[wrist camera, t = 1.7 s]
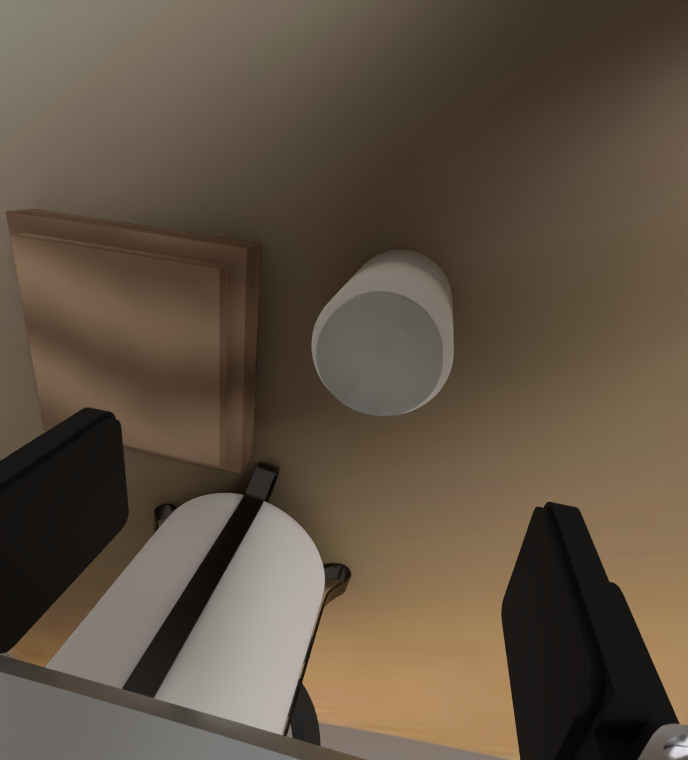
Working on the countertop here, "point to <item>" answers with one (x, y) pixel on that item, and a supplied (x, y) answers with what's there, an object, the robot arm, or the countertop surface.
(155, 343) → the plinth
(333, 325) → the canister
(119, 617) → the coffee press
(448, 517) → the countertop surface
